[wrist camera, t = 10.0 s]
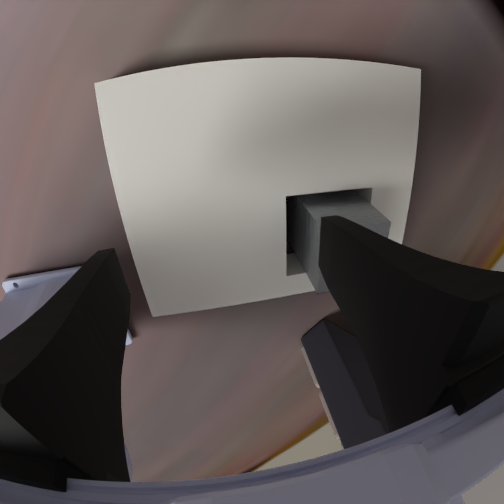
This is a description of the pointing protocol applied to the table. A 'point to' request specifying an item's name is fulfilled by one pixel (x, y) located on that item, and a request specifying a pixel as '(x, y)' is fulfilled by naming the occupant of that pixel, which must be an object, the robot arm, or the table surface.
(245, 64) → the slot board
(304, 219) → the pin
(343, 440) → the dark grey rectangular block
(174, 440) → the table surface
